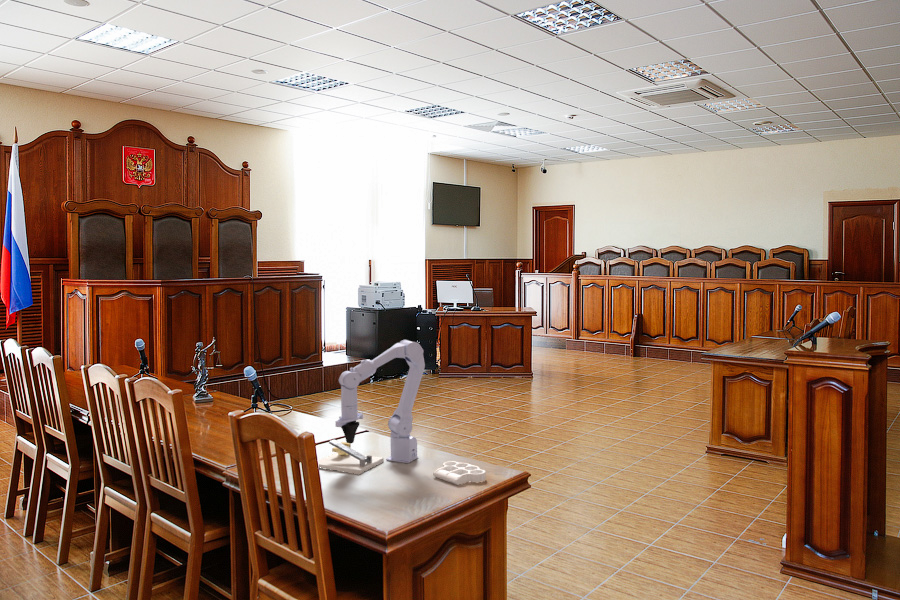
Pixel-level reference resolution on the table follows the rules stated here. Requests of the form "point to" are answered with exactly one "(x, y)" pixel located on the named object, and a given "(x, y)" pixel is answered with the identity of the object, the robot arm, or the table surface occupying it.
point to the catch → (341, 450)
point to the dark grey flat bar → (348, 450)
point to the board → (349, 463)
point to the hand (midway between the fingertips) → (350, 442)
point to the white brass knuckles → (460, 473)
